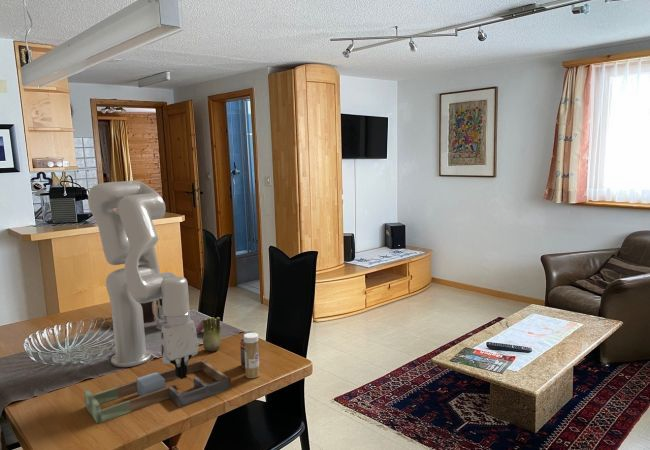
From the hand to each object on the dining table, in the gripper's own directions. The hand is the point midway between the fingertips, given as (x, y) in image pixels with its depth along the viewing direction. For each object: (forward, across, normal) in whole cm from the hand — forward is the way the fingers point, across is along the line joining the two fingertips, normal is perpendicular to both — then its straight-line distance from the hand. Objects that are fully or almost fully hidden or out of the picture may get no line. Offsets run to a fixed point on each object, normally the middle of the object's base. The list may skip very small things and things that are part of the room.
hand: (181, 377), depth 147 cm
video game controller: (+2, +25, +31) cm, 40 cm away
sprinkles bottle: (+3, +19, -9) cm, 21 cm away
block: (+3, -9, +1) cm, 9 cm away
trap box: (+2, -8, -3) cm, 9 cm away
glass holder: (+2, +15, +49) cm, 51 cm away
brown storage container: (+1, +12, +68) cm, 69 cm away
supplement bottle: (+3, +22, -3) cm, 22 cm away
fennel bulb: (+2, +19, +17) cm, 25 cm away
